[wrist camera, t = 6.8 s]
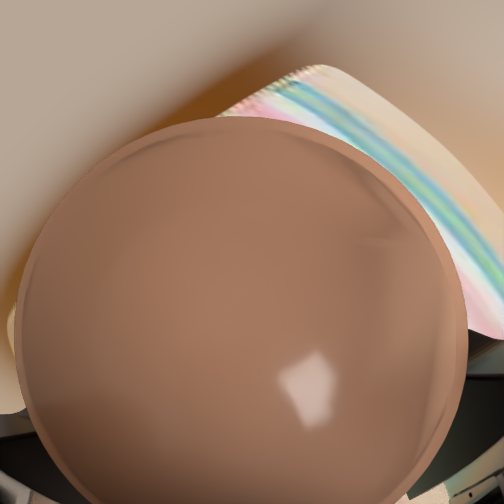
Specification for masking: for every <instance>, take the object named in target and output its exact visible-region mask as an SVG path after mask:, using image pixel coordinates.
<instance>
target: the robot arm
mask: <svg viewBox="0 0 504 504" xmlns="http://www.w3.org/2000/svg"><path fill="white" fill-rule="evenodd" d="M442 483H444V485H445V487H446V490H447V492H448V495H449V498H450V500H449V504H504V340H499V339H494V338H491V337H488V336H485V335H483V334H480V333H478V332H475V331H473V330H470V329H468V359H467V369H466V377H465V382H464V386H463V390H462V394H461V398H460V402H459V406H458V409H457V412H456V414H455V417H454V419H453V422H452V424H451V427H450V429H449V431H448V433H447V436H446V438H445V440H444V442H443V443H442V445H441V447H440V449H439V450H438V452H437V454H436V455H435V457H434V458H433V460H432V462H431V463H430V465H429V466H428V468H427V469H426V470H425V471H424V473H423V474H422V475H421V476H420V478H419V479H418V480H417V481H416V482H415V484H414V485H413V486H412V487H411V488H410V489H409V490H408V491H407V492H406V493H407V496H408V498H409V500H411V499H413V498H415V497H417V496H419V495H421V494H423V493H425V492H427V491H429V490H431V489H433V488H435V487H437V486H438V485H440V484H442ZM0 504H92V503H90V502H89V501H88V500H87V499H86V498H85V497H84V496H83V495H82V494H81V493H80V492H79V491H78V490H77V489H76V488H75V487H74V486H73V485H72V484H71V483H70V481H69V480H68V479H67V478H66V477H65V476H64V474H63V473H62V472H61V471H60V470H59V468H58V467H57V465H56V464H55V462H54V461H53V460H52V458H51V456H50V455H49V453H48V452H47V450H46V449H45V447H44V445H43V444H42V442H41V440H40V438H39V436H38V434H37V432H36V430H35V428H34V426H33V424H32V421H31V419H30V416H29V413H28V411H27V408H25V409H23V410H22V411H20V412H17V413H14V414H2V415H1V414H0Z"/></svg>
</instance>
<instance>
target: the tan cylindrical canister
mask: <svg viewBox="0 0 504 504" xmlns="http://www.w3.org/2000/svg"><path fill="white" fill-rule="evenodd" d="M14 349H15V360H16V368H17V374H18V379H19V384H20V388H21V392H22V396H23V399H24V402H25V405H26V408H27V411H28V413H29V416H30V419H31V421H32V424H33V426H34V428H35V430H36V432H37V434H38V436H39V438H40V440H41V442H42V444H43V445H44V447H45V449H46V450H47V452H48V453H49V455H50V456H51V458H52V460H53V461H54V462H55V464H56V465H57V467H58V468H59V470H60V471H61V472H62V473H63V474H64V476H65V477H66V478H67V479H68V480H69V481H70V483H71V484H72V485H73V486H74V487H75V488H76V489H77V490H78V491H79V492H80V493H81V494H82V495H83V496H84V497H85V498H86V499H87V500H88V501H89V502H90V503H92V504H395V503H396V502H397V501H398V500H399V499H400V498H401V497H402V496H403V495H404V494H405V493H406V492H407V491H408V490H409V489H410V488H411V487H412V486H413V485H414V484H415V482H416V481H417V480H418V479H419V478H420V476H421V475H422V474H423V473H424V471H425V470H426V469H427V468H428V466H429V465H430V463H431V462H432V460H433V458H434V457H435V455H436V454H437V452H438V450H439V449H440V447H441V445H442V443H443V442H444V440H445V438H446V436H447V433H448V431H449V429H450V427H451V424H452V422H453V419H454V417H455V414H456V412H457V409H458V406H459V402H460V398H461V394H462V390H463V386H464V382H465V377H466V369H467V359H468V323H467V312H466V306H465V301H464V296H463V291H462V287H461V282H460V279H459V276H458V273H457V271H456V268H455V265H454V262H453V260H452V257H451V254H450V252H449V250H448V248H447V246H446V244H445V242H444V240H443V238H442V236H441V235H440V233H439V231H438V229H437V227H436V226H435V224H434V222H433V221H432V220H431V218H430V217H429V215H428V214H427V213H426V211H425V210H424V208H423V207H422V206H421V204H420V203H419V202H418V200H417V199H416V198H415V197H414V196H413V195H412V194H411V193H410V192H409V191H408V189H407V188H406V187H405V186H404V185H403V184H402V183H401V182H400V181H399V180H398V179H397V178H396V177H395V176H394V175H392V174H391V173H390V172H389V171H387V170H386V169H385V168H384V167H382V166H381V165H380V164H379V163H377V162H376V161H375V160H373V159H372V158H371V157H369V156H368V155H366V154H364V153H363V152H361V151H359V150H358V149H356V148H354V147H353V146H351V145H349V144H347V143H346V142H344V141H342V140H340V139H337V138H335V137H333V136H330V135H328V134H326V133H323V132H321V131H318V130H316V129H313V128H309V127H306V126H302V125H299V124H295V123H291V122H288V121H282V120H276V119H269V118H262V117H241V116H227V117H216V118H207V119H200V120H195V121H190V122H186V123H181V124H177V125H173V126H170V127H167V128H165V129H162V130H159V131H156V132H154V133H151V134H148V135H146V136H144V137H142V138H140V139H138V140H136V141H134V142H132V143H130V144H128V145H126V146H124V147H122V148H121V149H119V150H118V151H116V152H115V153H113V154H112V155H110V156H109V157H107V158H106V159H105V160H103V161H101V162H100V163H99V164H98V165H96V166H95V167H94V168H93V169H92V170H91V171H89V172H88V173H87V174H86V175H85V176H84V177H82V178H81V179H80V180H79V181H78V182H77V184H76V185H75V186H74V187H73V188H72V189H71V190H70V191H69V192H68V193H67V194H66V195H65V197H64V198H63V199H62V200H61V202H60V203H59V204H58V206H57V207H56V209H55V210H54V211H53V213H52V214H51V215H50V217H49V218H48V220H47V222H46V223H45V225H44V227H43V229H42V230H41V232H40V234H39V236H38V238H37V240H36V242H35V244H34V246H33V248H32V251H31V253H30V256H29V258H28V261H27V263H26V266H25V269H24V273H23V276H22V280H21V284H20V287H19V291H18V297H17V304H16V311H15V322H14Z"/></svg>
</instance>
